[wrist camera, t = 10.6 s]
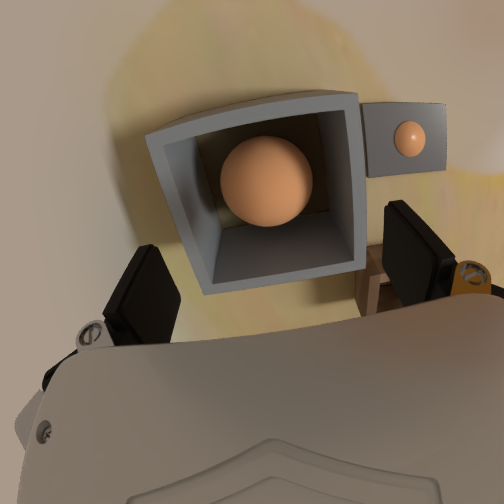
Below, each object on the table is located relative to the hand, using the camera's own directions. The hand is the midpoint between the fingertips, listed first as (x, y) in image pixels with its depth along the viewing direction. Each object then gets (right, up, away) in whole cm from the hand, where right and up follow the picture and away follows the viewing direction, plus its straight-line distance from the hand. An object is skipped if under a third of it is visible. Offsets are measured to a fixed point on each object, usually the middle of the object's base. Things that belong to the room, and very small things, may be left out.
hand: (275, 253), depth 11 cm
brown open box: (+12, -2, +15) cm, 19 cm away
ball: (0, +5, +7) cm, 8 cm away
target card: (+12, +9, +7) cm, 17 cm away
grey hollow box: (0, +6, +9) cm, 11 cm away
